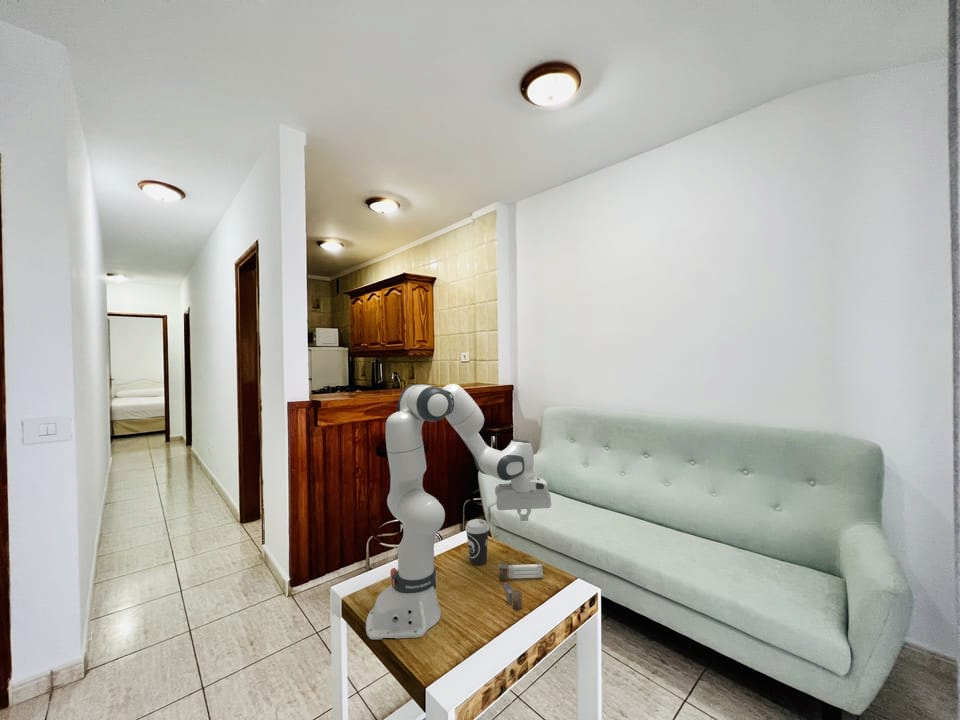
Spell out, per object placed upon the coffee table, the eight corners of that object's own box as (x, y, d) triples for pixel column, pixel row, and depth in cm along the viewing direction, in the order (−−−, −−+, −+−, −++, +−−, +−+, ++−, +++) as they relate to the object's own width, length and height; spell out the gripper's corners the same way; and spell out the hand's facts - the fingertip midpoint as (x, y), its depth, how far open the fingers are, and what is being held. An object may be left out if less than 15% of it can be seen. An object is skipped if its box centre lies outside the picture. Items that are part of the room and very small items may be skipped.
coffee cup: (488, 568, 143) (486, 529, 144) (463, 567, 145) (462, 527, 146) (492, 556, 153) (491, 518, 153) (469, 554, 155) (468, 517, 155)
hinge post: (500, 583, 134) (499, 568, 134) (497, 578, 137) (497, 564, 137) (509, 581, 134) (509, 567, 135) (506, 576, 138) (506, 562, 138)
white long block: (509, 578, 135) (508, 567, 135) (508, 576, 137) (508, 565, 137) (542, 577, 135) (542, 566, 135) (542, 574, 137) (541, 563, 137)
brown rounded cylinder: (512, 611, 118) (511, 596, 118) (507, 601, 124) (507, 586, 124) (523, 609, 119) (522, 594, 119) (517, 599, 124) (517, 584, 124)
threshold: (510, 600, 124) (510, 599, 124) (502, 585, 133) (502, 584, 133) (517, 599, 124) (517, 598, 124) (509, 584, 133) (509, 583, 133)
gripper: (495, 486, 138) (496, 525, 138) (551, 484, 138) (552, 522, 138) (494, 481, 144) (495, 517, 144) (548, 479, 144) (549, 515, 144)
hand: (524, 520), depth 141 cm, fingers closed
